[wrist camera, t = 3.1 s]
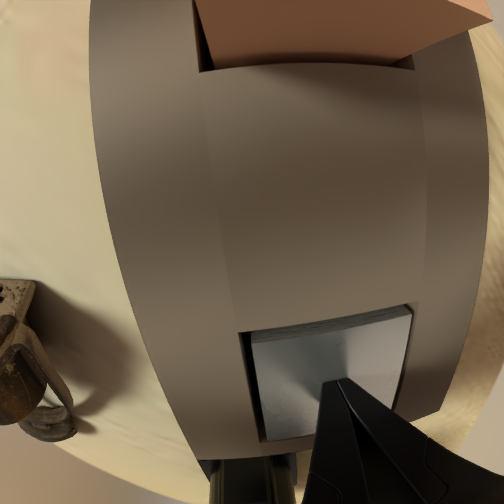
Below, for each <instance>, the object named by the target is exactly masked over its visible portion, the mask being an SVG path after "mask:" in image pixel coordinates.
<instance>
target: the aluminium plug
mask: <svg viewBox="0 0 504 504" xmlns="http://www.w3.org/2000/svg"><path fill="white" fill-rule="evenodd" d="M411 317H412V314H411V313H410V312H409V310H408V309H407V308H406V307H405V306H404V305H403V304H401V305H397V306H393V307H388V308H384V309H379V310H374V311H369V312H364V313H359V314H354V315H349V316H344V317H339V318H333V319H327V320H322V321H316V322H310V323H303V324H297V325H291V326H284V327H277V328H270V329H262V330H254V331H251V344H252V350H253V357H254V363H255V369H256V375H257V381H258V387H259V393H260V399H261V405H262V411H263V417H264V423H265V429H266V435H267V441H272V440H279V439H286V438H293V437H299V436H305V435H311V434H315V431H316V424H317V417H318V409H319V401H320V392H321V385H322V383H324V382H329V381H336V380H339V379H344V378H350V379H351V380H353V381H354V382H355V383H357V384H358V385H359V386H360V387H362V388H363V389H364V390H366V391H367V392H368V393H370V394H371V395H372V396H374V397H375V398H376V399H378V400H379V401H380V402H382V403H383V404H384V405H386V406H387V407H388V408H390V409H391V407H392V403H393V400H394V396H395V392H396V389H397V385H398V381H399V377H400V373H401V369H402V364H403V360H404V355H405V350H406V345H407V340H408V335H409V329H410V323H411Z"/></svg>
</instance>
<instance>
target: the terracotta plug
mask: <svg viewBox="0 0 504 504" xmlns="http://www.w3.org/2000/svg"><path fill="white" fill-rule="evenodd" d="M195 2H196V5H197V9H198V12H199V16H200V19H201V22H202V26H203V29H204V33H205V36H206V40H207V43H208V47H209V50H210V53H211V57H212V60H213V64H214V67H215V70H221V69H228V68H236V67H245V66H256V65H268V64H286V63H345V64H362V65H374V66H384V67H386V66H388V65H390V64H392V63H394V62H396V61H398V60H400V59H402V58H404V57H406V56H408V55H410V54H412V53H415V52H417V51H419V50H421V49H423V48H426V47H428V46H430V45H432V44H435V43H437V42H439V41H442V40H444V39H446V38H449V37H451V36H454V35H456V34H459V33H461V32H464V31H467V30H469V29H472V28H475V27H477V26H480V25H483V24H486V23H489V22H492V21H493V18H492V15H491V12H490V10H489V7H488V5H487V2H486V0H195Z"/></svg>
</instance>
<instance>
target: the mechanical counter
mask: <svg viewBox="0 0 504 504" xmlns="http://www.w3.org/2000/svg"><path fill="white" fill-rule="evenodd" d="M35 288H36V284H35V283H34V282H33V281H26V280H0V425H9V424H14V423H18V424H19V426H20V428H21V429H23V430H24V431H25V432H26V433H27V434H29V435H31V436H33V437H35V438H36V439H38V440H41V441H45V442H58V441H63V440H66V439H68V438H71V437H73V436H74V435H75V434H76V433H77V429H78V428H77V426H76V425H75V423H74V422H73V421H72V419H71V418H70V415H71V413H72V409H73V399H72V396H71V393H70V390H69V389H68V387H67V386H66V384H65V383H64V381H63V380H62V379H61V377H60V376H59V375H58V373H57V371H56V369H55V368H54V366H53V364H52V362H51V360H50V359H49V357H48V355H47V353H46V351H45V350H44V348H43V346H42V344H41V342H40V341H39V339H38V337H37V335H36V333H35V332H34V331H33V330H32V329H31V328H30V327H29V325H28V323H27V321H26V319H25V316H26V312H27V310H28V307H29V305H30V303H31V300H32V297H33V295H34V292H35ZM47 383H48V385H49V386H50V388H51V389H52V390H53V392H54V393H55V394H56V395H57V397H58V398H59V400H60V401H61V402H62V403H63V405H64V406H62V407H61V408H57V409H51V408H46V407H37V405H38V404H39V403H40V401H41V399H42V398H43V396H44V393H45V390H46V387H47Z"/></svg>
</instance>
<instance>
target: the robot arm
mask: <svg viewBox="0 0 504 504" xmlns="http://www.w3.org/2000/svg"><path fill="white" fill-rule="evenodd" d="M197 461H198V463H199V465H200V466H201V468H202V470H203V472H204V473H205V475H206V477H207V479H208V480H209V482H210V498H209V504H296V499H295V492H294V485H296V484H297V469H296V452H291V453H284V454H277V455H269V456H260V457H249V458H235V459H212V460H197ZM301 504H504V476H502V475H499V474H496V473H493V472H491V471H489V470H487V469H485V468H482V467H480V466H478V465H476V464H474V463H472V462H470V461H468V460H466V459H464V458H462V457H460V456H458V455H456V454H455V453H453V452H451V451H449V450H448V449H446V448H445V447H443V446H442V445H440V444H439V443H437V442H436V441H434V440H433V439H431V438H428V436H427V435H426V434H424V433H423V432H421V431H420V430H419V429H417V428H416V427H414V426H413V425H412V424H410V423H409V422H407V421H406V420H405V419H403V418H402V417H401V416H399V415H398V414H396V413H395V412H394V411H392V410H391V409H390V408H388V407H387V406H386V405H384V404H383V403H382V402H380V401H379V400H378V399H376V398H375V397H374V396H372V395H371V394H370V393H368V392H367V391H366V390H364V389H363V388H362V387H360V386H359V385H358V384H357V383H355V382H354V381H353V380H351V379H350V378H344V379H339V380H336V381H329V382H324V383H322V385H321V392H320V401H319V409H318V417H317V424H316V431H315V438H314V444H313V451H312V457H311V463H310V469H309V474H308V479H307V484H306V488H305V492H304V497H303V500H302V503H301Z"/></svg>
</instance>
